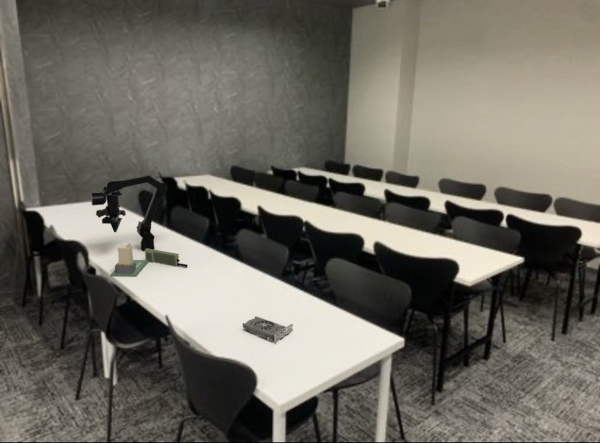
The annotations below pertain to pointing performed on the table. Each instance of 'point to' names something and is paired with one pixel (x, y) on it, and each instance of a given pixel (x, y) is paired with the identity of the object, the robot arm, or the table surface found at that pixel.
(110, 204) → the robot arm
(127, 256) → the plug
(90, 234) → the table surface
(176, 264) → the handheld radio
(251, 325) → the graphics card
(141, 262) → the board
